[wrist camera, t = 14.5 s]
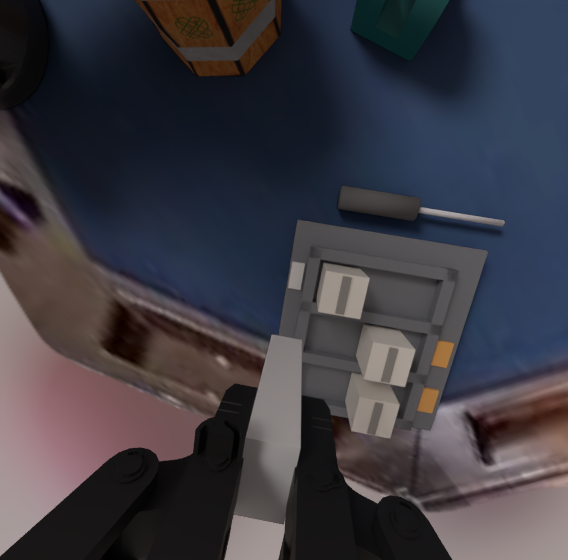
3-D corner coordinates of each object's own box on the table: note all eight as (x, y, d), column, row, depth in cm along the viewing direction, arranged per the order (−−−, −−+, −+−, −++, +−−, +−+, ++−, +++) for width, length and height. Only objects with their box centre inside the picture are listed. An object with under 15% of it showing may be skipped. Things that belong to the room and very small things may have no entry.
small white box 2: (345, 400, 34) (351, 432, 29) (352, 370, 33) (359, 397, 28) (378, 407, 34) (390, 439, 29) (386, 377, 33) (400, 405, 28)
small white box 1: (316, 297, 32) (318, 312, 27) (323, 262, 31) (326, 270, 26) (352, 303, 32) (360, 319, 27) (360, 268, 31) (369, 278, 26)
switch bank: (269, 389, 37) (266, 405, 34) (298, 219, 32) (297, 219, 29) (423, 419, 36) (434, 438, 33) (477, 249, 32) (495, 252, 28)
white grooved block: (355, 355, 33) (364, 380, 28) (363, 323, 32) (373, 342, 27) (390, 361, 33) (405, 387, 28) (399, 329, 32) (416, 350, 27)
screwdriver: (336, 209, 32) (338, 208, 30) (340, 186, 31) (343, 184, 29) (491, 234, 31) (506, 235, 29) (498, 211, 31) (514, 211, 28)
